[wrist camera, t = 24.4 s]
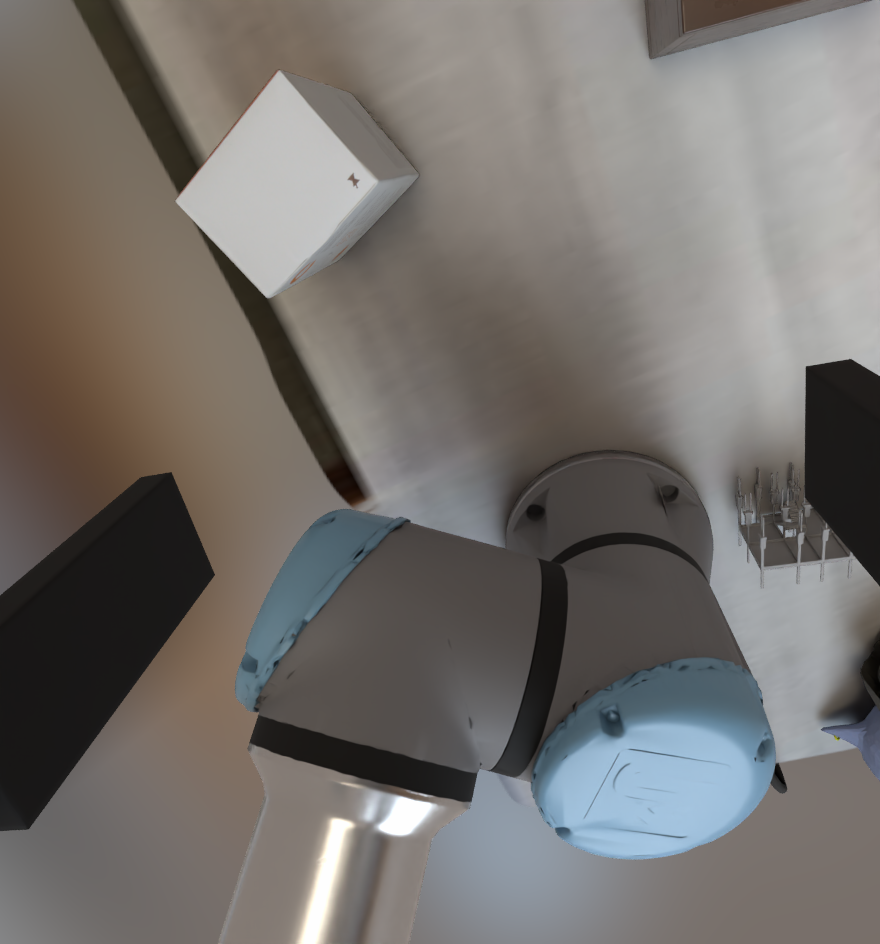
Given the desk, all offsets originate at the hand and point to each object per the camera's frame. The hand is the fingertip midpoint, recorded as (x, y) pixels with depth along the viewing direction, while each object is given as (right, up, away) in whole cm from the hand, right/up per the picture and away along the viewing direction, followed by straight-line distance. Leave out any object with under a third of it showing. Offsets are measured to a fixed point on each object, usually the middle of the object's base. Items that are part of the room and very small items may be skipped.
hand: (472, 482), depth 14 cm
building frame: (+24, 0, +30) cm, 38 cm away
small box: (-7, +19, +28) cm, 35 cm away
